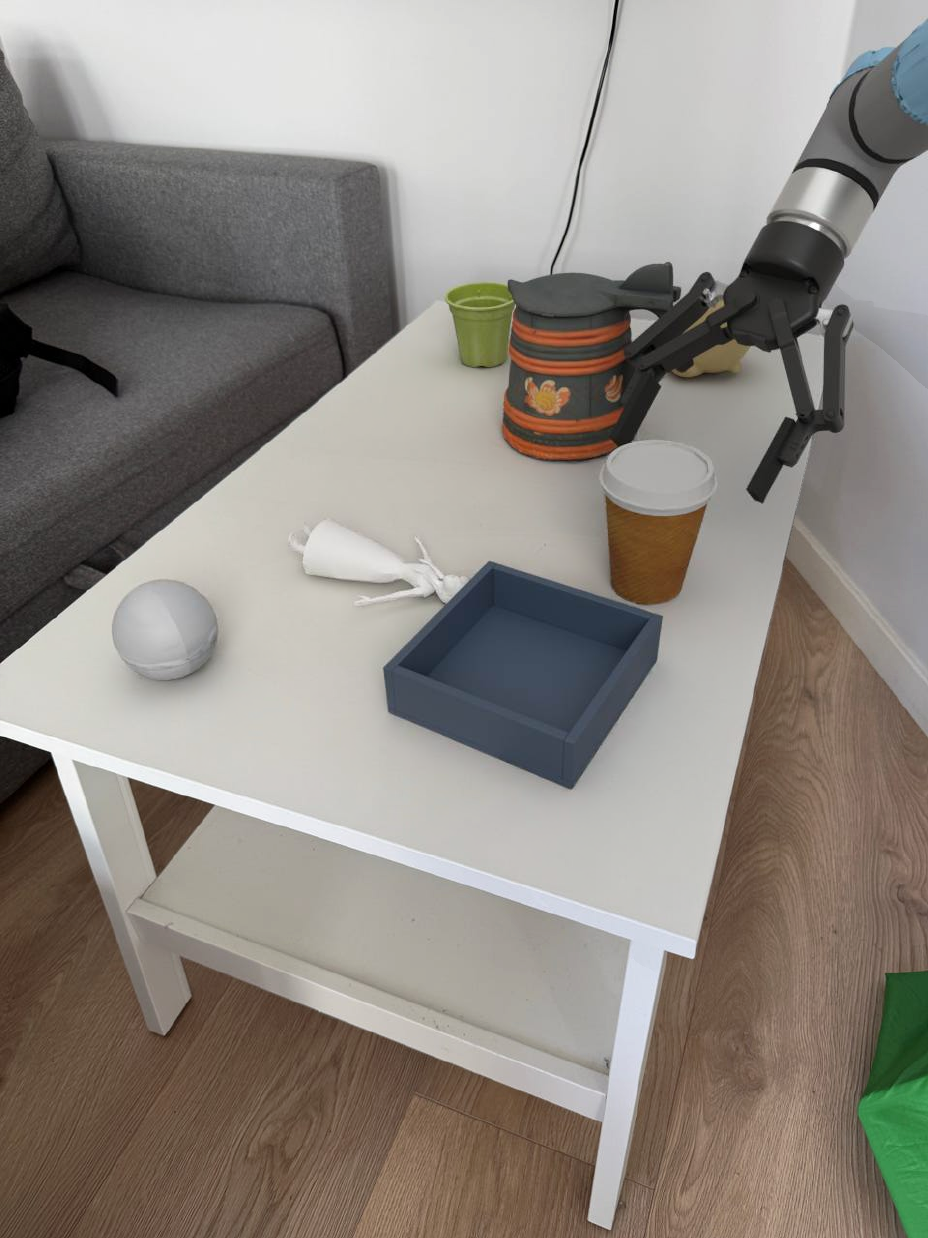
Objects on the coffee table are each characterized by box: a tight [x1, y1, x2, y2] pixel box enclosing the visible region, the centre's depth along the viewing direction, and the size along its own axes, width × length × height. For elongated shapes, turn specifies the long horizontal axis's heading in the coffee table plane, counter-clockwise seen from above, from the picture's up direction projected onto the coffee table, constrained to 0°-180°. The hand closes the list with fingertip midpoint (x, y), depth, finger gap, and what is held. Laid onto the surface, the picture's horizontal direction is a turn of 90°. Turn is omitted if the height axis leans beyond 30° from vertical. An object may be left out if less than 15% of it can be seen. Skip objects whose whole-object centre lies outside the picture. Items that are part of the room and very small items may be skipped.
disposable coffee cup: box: [599, 439, 718, 605], centre depth 78 cm, size 10×10×12 cm
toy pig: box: [671, 300, 751, 379], centre depth 114 cm, size 10×12×11 cm
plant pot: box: [444, 281, 516, 368], centre depth 119 cm, size 9×9×9 cm
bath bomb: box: [111, 578, 219, 681], centre depth 73 cm, size 8×8×8 cm
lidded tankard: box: [501, 261, 682, 462], centre depth 98 cm, size 19×15×20 cm
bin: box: [382, 560, 664, 790], centre depth 70 cm, size 16×16×5 cm
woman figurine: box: [288, 518, 471, 608], centre depth 82 cm, size 12×4×18 cm
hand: (682, 469), depth 78 cm, fingers open, 13 cm apart
